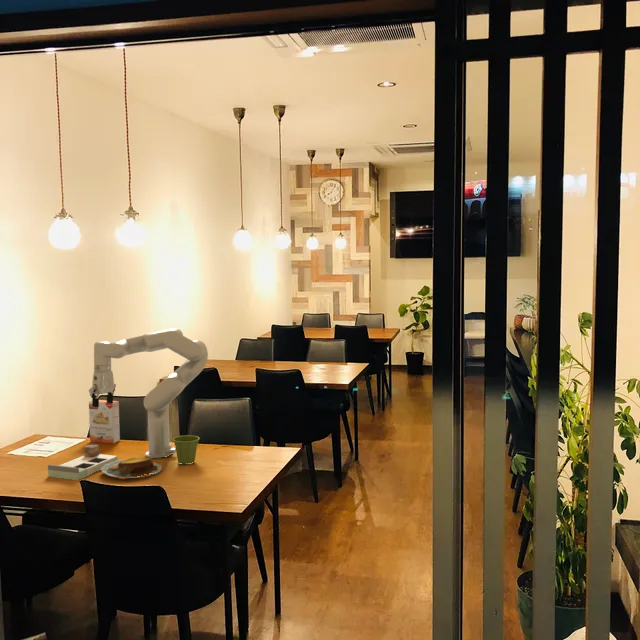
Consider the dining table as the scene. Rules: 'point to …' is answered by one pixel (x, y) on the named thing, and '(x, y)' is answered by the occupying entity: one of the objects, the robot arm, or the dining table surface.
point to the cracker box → (104, 422)
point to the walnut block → (91, 450)
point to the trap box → (80, 467)
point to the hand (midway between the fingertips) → (102, 404)
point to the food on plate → (131, 468)
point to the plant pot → (186, 448)
